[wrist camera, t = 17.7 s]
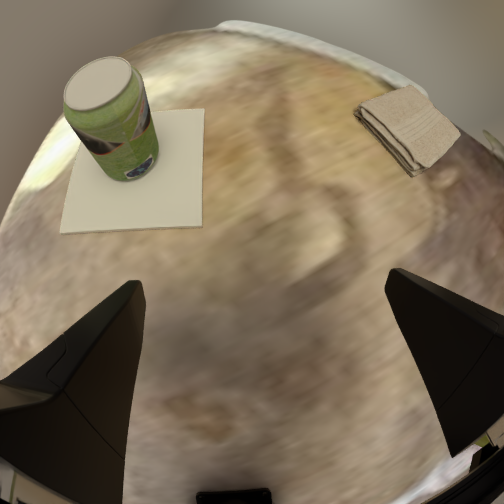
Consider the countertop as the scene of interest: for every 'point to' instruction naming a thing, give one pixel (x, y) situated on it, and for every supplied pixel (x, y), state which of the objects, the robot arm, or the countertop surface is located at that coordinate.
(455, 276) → the countertop surface
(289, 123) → the countertop surface
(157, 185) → the cream mat
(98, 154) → the beverage can
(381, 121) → the washcloth
